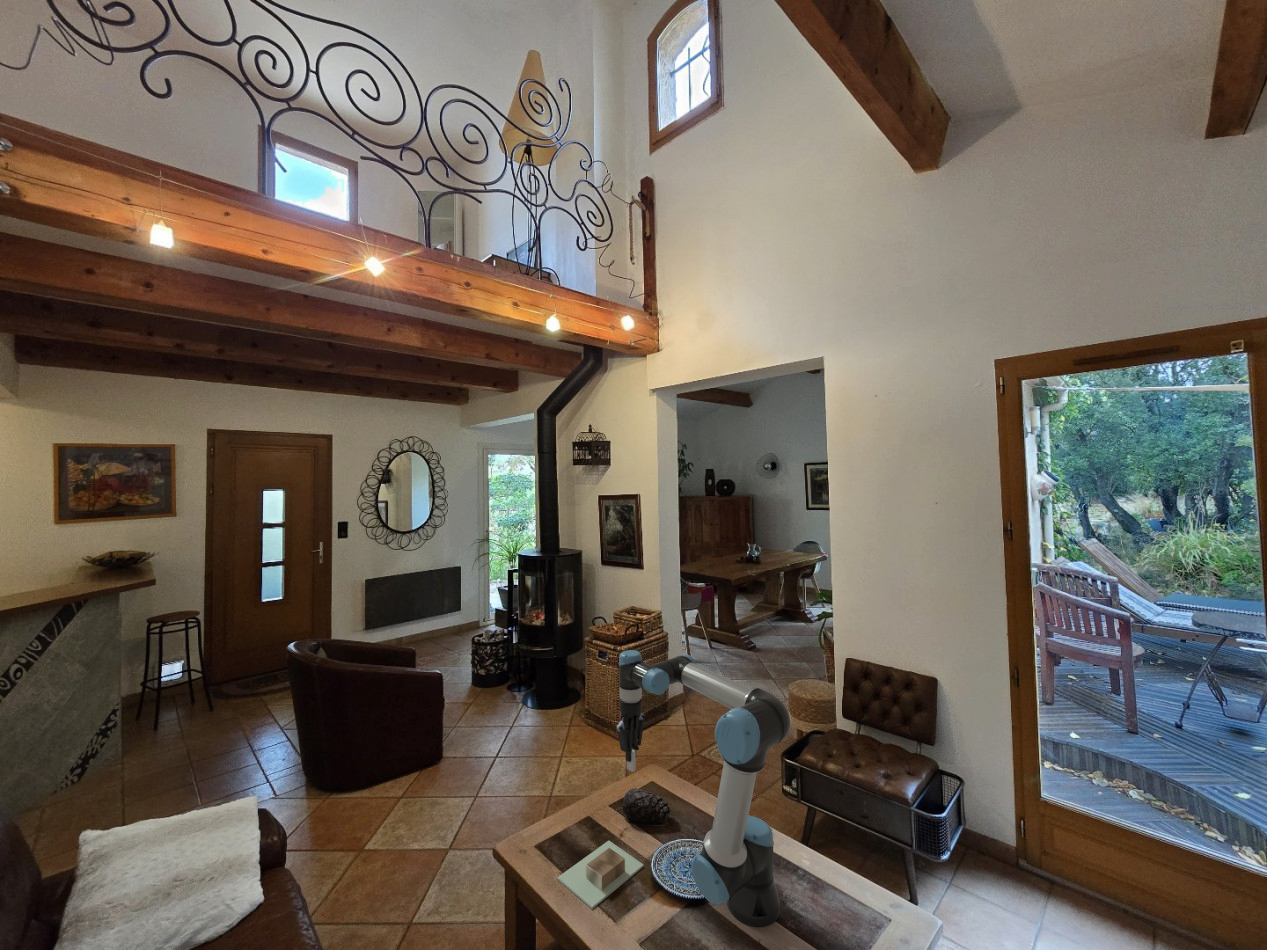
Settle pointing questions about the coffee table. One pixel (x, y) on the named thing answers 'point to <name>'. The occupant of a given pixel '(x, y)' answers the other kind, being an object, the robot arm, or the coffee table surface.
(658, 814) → the pine cone
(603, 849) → the mat
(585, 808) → the coffee table surface
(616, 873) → the beige rectangular block
